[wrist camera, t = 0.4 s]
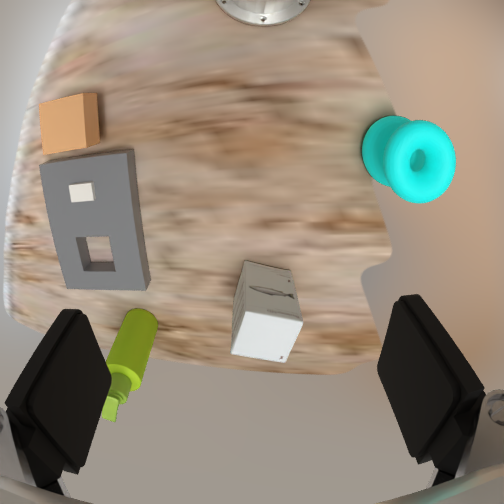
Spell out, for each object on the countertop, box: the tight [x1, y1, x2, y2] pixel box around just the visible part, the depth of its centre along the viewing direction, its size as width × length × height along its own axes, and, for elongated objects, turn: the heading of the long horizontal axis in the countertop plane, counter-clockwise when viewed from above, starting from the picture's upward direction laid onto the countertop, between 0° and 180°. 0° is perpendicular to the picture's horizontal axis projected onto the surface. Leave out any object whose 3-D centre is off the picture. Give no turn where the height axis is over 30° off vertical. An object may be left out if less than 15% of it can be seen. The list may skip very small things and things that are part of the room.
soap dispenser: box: [102, 309, 158, 422], centre depth 43 cm, size 6×7×20 cm
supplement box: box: [230, 260, 303, 363], centre depth 43 cm, size 7×7×13 cm
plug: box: [39, 93, 100, 155], centre depth 34 cm, size 7×7×7 cm
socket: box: [39, 149, 151, 291], centre depth 42 cm, size 20×14×4 cm
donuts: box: [362, 116, 456, 203], centre depth 36 cm, size 10×10×10 cm
